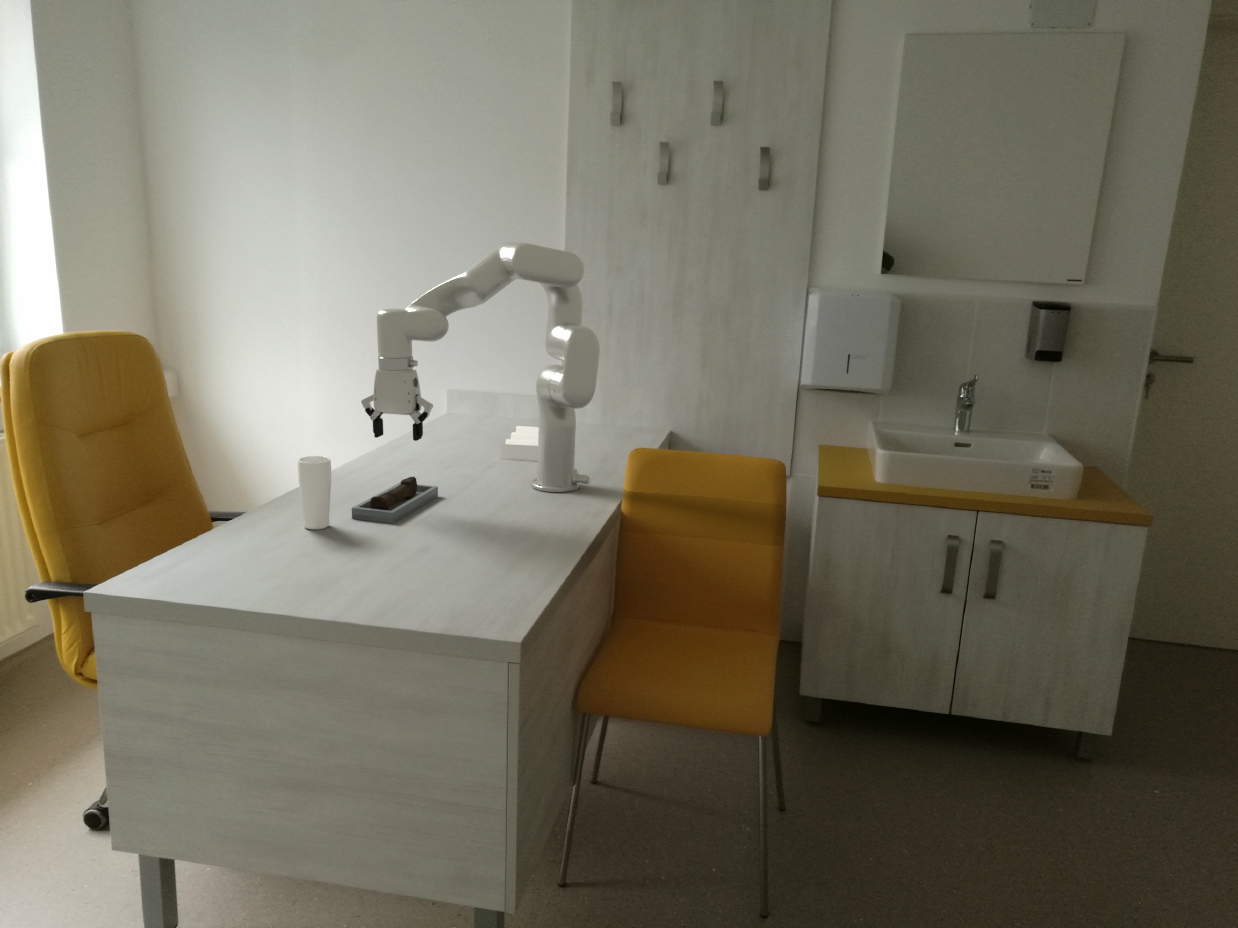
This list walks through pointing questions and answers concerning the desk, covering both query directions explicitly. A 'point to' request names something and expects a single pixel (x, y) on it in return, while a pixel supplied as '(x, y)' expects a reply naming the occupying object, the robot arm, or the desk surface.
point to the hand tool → (395, 494)
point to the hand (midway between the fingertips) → (398, 437)
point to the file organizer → (521, 444)
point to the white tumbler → (315, 490)
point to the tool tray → (395, 506)
